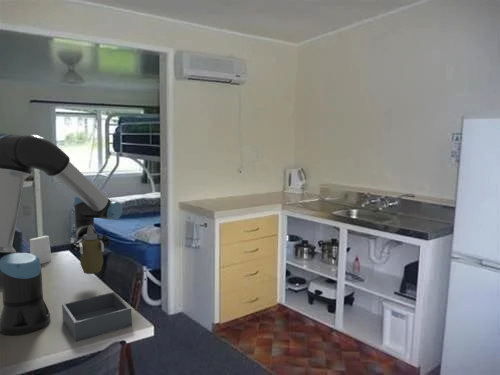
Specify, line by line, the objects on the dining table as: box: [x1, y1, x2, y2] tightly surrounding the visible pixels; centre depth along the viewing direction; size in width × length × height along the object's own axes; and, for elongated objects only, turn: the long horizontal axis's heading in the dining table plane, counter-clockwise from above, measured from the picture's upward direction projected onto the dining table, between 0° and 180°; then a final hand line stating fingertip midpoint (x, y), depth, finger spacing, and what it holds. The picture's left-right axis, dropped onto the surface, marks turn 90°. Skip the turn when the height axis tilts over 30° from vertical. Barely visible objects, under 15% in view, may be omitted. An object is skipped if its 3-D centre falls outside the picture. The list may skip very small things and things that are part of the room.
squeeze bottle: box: [79, 225, 104, 275], centre depth 154 cm, size 8×8×18 cm
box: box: [61, 291, 133, 342], centre depth 138 cm, size 18×18×6 cm
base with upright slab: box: [29, 235, 52, 265], centre depth 207 cm, size 9×9×12 cm
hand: (92, 249), depth 149 cm, fingers closed on squeeze bottle, 6 cm apart
